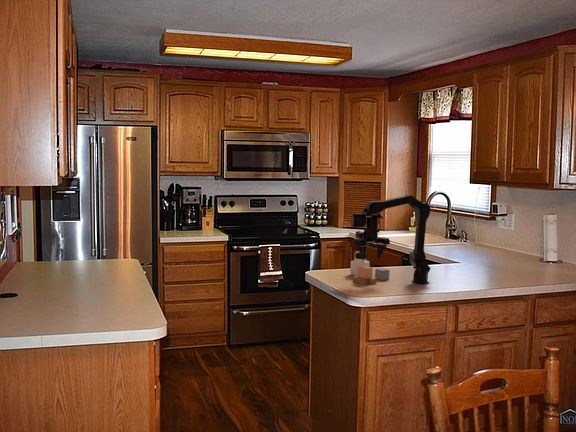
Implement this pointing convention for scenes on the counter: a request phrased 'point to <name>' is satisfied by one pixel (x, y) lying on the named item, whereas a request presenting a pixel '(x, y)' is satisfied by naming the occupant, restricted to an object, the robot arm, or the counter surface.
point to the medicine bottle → (358, 263)
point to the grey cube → (382, 274)
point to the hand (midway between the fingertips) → (370, 259)
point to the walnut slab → (364, 280)
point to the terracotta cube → (364, 272)
